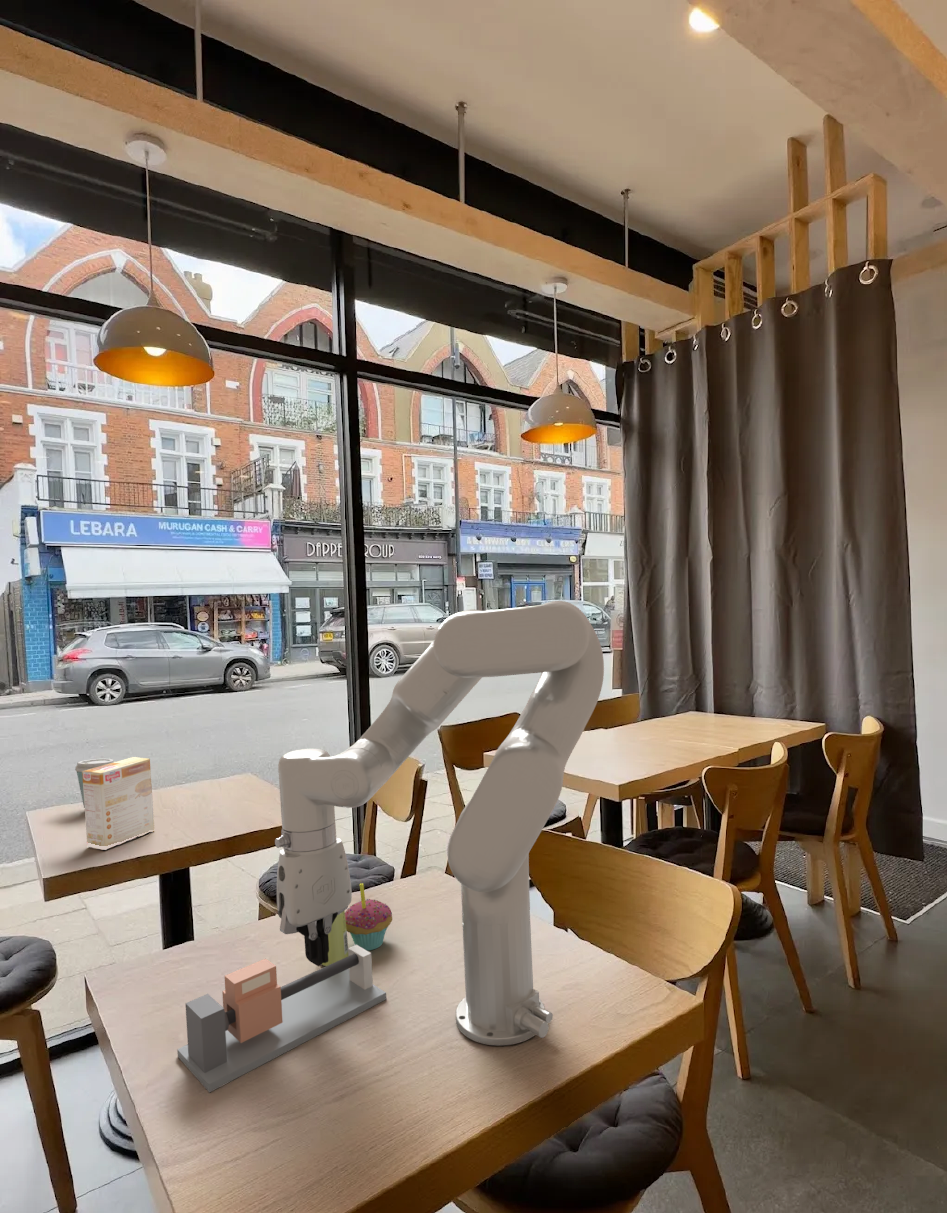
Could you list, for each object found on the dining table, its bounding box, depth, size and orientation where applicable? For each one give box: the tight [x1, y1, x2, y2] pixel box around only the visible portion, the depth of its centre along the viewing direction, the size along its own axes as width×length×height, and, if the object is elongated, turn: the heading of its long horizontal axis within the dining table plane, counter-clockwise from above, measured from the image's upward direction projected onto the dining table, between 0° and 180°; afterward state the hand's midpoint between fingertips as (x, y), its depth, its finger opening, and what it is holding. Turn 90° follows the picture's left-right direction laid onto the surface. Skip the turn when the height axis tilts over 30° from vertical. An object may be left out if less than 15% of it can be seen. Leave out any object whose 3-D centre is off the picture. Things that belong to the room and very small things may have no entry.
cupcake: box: [345, 879, 393, 951], centre depth 125 cm, size 9×8×12 cm
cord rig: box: [176, 944, 387, 1093], centre depth 102 cm, size 27×10×8 cm, turn 133°
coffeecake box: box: [82, 756, 155, 846], centre depth 185 cm, size 15×7×20 cm, turn 154°
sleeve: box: [222, 958, 283, 1043], centre depth 98 cm, size 6×5×8 cm
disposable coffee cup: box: [74, 758, 116, 809], centre depth 211 cm, size 11×11×15 cm
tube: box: [321, 910, 349, 967], centre depth 120 cm, size 6×5×20 cm
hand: (317, 961), depth 105 cm, fingers closed
